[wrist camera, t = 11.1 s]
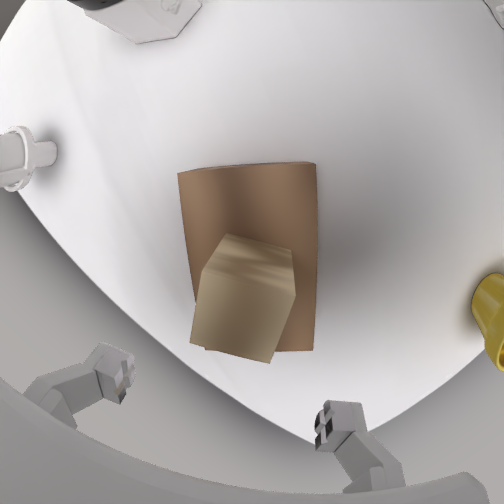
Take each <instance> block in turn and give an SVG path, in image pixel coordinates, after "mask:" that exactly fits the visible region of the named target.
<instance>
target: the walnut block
mask: <svg viewBox="0 0 504 504" xmlns="http://www.w3.org/2000/svg"><path fill="white" fill-rule="evenodd" d="M177 174H178V184H179V193H180V201H181V210H182V218H183V225H184V233H185V240H186V247H187V253H188V260H189V266H190V273H191V279H192V285H193V290H194V296H195V302H196V301H197V295H198V289H199V284H200V278H201V273H202V270H203V268H204V267H205V265H206V264H207V262H208V260H209V259H210V257H211V256H212V254H213V253H214V251H215V249H216V248H217V246H218V245H219V243H220V242H221V240H222V239H223V237H224V235H225V234H226V233H229V234H233V235H237V236H240V237H244V238H248V239H252V240H255V241H259V242H263V243H267V244H270V245H274V246H278V247H281V248H285V249H289V250H291V253H292V262H293V272H294V282H295V292H296V297H295V300H294V302H293V305H292V308H291V310H290V313H289V316H288V318H287V321H286V324H285V326H284V329H283V331H282V334H281V336H280V339H279V342H278V344H277V347H276V349H275V352H282V351H313V343H314V327H315V309H316V283H317V180H316V164H314V163H310V162H281V163H260V164H244V165H231V166H219V167H209V168H199V169H194V170H190V171H185V172H181V173H177ZM205 350H212V349H209V348H205ZM212 351H216V350H212Z"/></svg>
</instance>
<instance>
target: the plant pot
mask: <svg viewBox="0 0 504 504" xmlns="http://www.w3.org/2000/svg"><path fill="white" fill-rule="evenodd" d="M471 309H472V313H473V316H474V318H475V319H476V321H477V324H478V326H479V328H480V330H481V332H482V334H483V337H484V339H485V350H486V352H487V354H488V356H489V357H490V359H491V360H492V362H493V363H494V364H495V366H496V367H497V368H498V369H499V370H501V371H504V276H503V275H501V274H498V273H493V274H490V275H488V276H487V277H485V278H484V279H483V280H482V281H481V282H480V284H479V285H478V287H477V289H476V291H475V293H474V295H473V298H472V304H471Z"/></svg>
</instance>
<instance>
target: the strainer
mask: <svg viewBox="0 0 504 504" xmlns="http://www.w3.org/2000/svg"><path fill="white" fill-rule="evenodd" d="M15 132H18V133H15ZM56 158H57V147H56V144H55V143H54V142H52V141H47V142H34V139H33V136H32V134H31V132H30V131H29V129H28V128H26V127H25V126H13V127H10V128H9V129H8V130H7V131H6V132H5V133H4V134H1V135H0V188H1V187H4V188H5V189H6V190H7V191H11V192H13V191H16V190H20V189H22V188H24V187H25V186H26V185H27V184H28V182H29V181H30V179H31V176H32V173H33V170H34V168H38V167H43V166H50V165H52V164H53V163H54V162H55V160H56ZM16 183H18V184H17V185H15V184H16Z"/></svg>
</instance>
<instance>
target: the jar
mask: <svg viewBox="0 0 504 504" xmlns="http://www.w3.org/2000/svg"><path fill="white" fill-rule="evenodd" d="M67 1H69V2H71V3H73V4H75V5H77V6H79V7H81V8H83V9H84V12H85V15H86V16H88V17H90V18H92V19H94V20H96V21H97V22H99V23H101V24H103V25H105V26H107V27H108V28H110V29H112V30H114V31H115V32H117V33H119V34H120V35H122V36H124V37H125V38H127V39H129V40H130V41H132V42H134V43H135V44H139V43H144V42H149V41H155V40H161V39H168V38H175V37H176V36H177V35H178V34H179V33H180V31H181V30H182V29H183V27H184V26H185V25H186V24H187V22H188V21H189V20H190V19H191V18H192V16H193V15H194V14H195V13H196V12H197V11H198V9H199V8H200V7H201V6H202V4H201V2H200V1H199V0H67Z"/></svg>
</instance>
